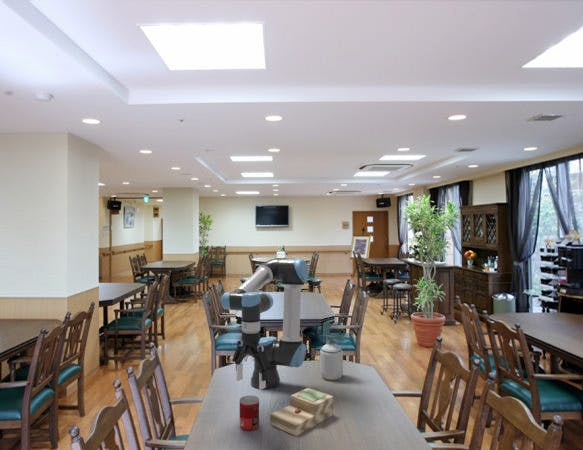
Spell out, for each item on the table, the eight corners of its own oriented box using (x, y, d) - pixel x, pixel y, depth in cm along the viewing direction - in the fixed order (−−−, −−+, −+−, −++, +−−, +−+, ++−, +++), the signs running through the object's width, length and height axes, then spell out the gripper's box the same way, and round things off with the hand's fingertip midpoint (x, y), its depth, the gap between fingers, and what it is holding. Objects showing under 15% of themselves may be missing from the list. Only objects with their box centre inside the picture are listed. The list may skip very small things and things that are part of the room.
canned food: (256, 432, 158) (256, 404, 158) (236, 430, 159) (236, 402, 159) (261, 423, 165) (261, 396, 165) (242, 421, 167) (242, 394, 167)
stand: (296, 436, 155) (296, 414, 155) (270, 424, 164) (270, 403, 164) (333, 414, 172) (333, 395, 172) (308, 405, 182) (308, 386, 182)
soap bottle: (334, 383, 208) (334, 322, 208) (315, 377, 216) (315, 319, 216) (347, 376, 217) (347, 318, 217) (328, 371, 225) (328, 315, 225)
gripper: (224, 328, 168) (223, 379, 168) (265, 338, 152) (265, 395, 151) (237, 324, 174) (237, 374, 174) (279, 334, 157) (279, 389, 157)
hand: (250, 384), depth 162 cm, fingers open, 13 cm apart
